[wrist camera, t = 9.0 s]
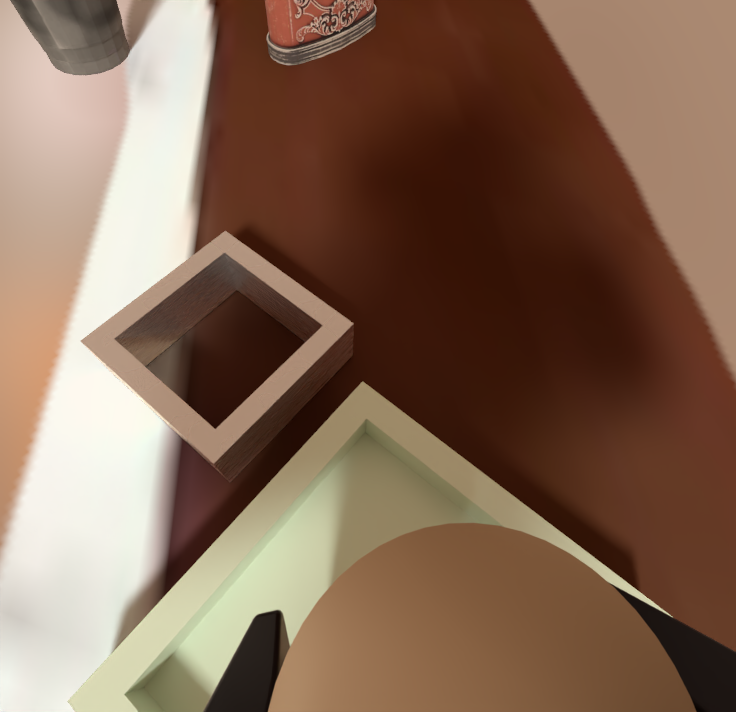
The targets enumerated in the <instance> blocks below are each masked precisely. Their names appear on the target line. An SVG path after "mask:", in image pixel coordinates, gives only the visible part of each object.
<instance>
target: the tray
mask: <svg viewBox="0 0 736 712" xmlns="http://www.w3.org/2000/svg"><path fill="white" fill-rule="evenodd" d="M449 523H480V524H489V525H498V526H502V527H506V528H510V529H514V530H518V531H522V532H525V533H527V534H530V535H532V536H535V537H538V538H540V539H543V540H545V541H547V542H549V543H551V544H553V545H555V546H557V547H559V548H561V549H563V550H564V551H566V552H568V553H570V554H571V555H573V556H574V557H576V558H577V559H579V560H580V561H582V562H583V563H585V564H586V565H587V566H589V567H590V568H592V569H593V570H594V571H596V572H597V573H598V574H599V575H600V576H601V577H603V578H604V579H605V580H606V581H607V582H609V583H611V584H613V585H614V586H616V587H618V588H620V589H622V590H624V591H625V592H627V593H629V594H631V595H633V596H635V597H636V598H638V599H640V600H642V601H644V602H646V603H647V604H649V605H651V606H653V607H655V608H657V609H658V610H660V611H662V612H664V613H666V614H667V615H669V614H668V613H667V612H665V611H664V610H663V609H661V608H660V607H659V606H657V605H656V604H655V603H653V602H652V601H651V600H650V599H648V598H647V597H646V596H644V595H643V594H642V593H640V592H639V591H638V590H636V589H635V588H634V587H632V586H631V585H630V584H628V583H627V582H626V581H625V580H623V579H622V578H621V577H619V576H618V575H617V574H615V573H614V572H613V571H611V570H610V569H609V568H607V567H606V566H605V565H604V564H602V563H601V562H600V561H598V560H597V559H596V558H594V557H593V556H592V555H590V554H589V553H588V552H586V551H585V550H584V549H582V548H581V547H580V546H579V545H577V544H576V543H575V542H573V541H572V540H571V539H569V538H568V537H567V536H565V535H564V534H563V533H561V532H560V531H559V530H558V529H556V528H555V527H554V526H552V525H551V524H550V523H548V522H547V521H546V520H544V519H543V518H542V517H540V516H539V515H538V514H536V513H535V512H534V511H533V510H531V509H530V508H529V507H527V506H526V505H525V504H523V503H522V502H521V501H519V500H518V499H517V498H515V497H514V496H513V495H512V494H510V493H509V492H508V491H506V490H505V489H504V488H502V487H501V486H500V485H498V484H497V483H496V482H494V481H493V480H492V479H490V478H489V477H488V476H487V475H485V474H484V473H483V472H481V471H480V470H479V469H477V468H476V467H475V466H473V465H472V464H471V463H469V462H468V461H467V460H466V459H464V458H463V457H462V456H460V455H459V454H458V453H456V452H455V451H454V450H452V449H451V448H450V447H448V446H447V445H446V444H444V443H443V442H442V441H441V440H439V439H438V438H437V437H435V436H434V435H433V434H431V433H430V432H429V431H427V430H426V429H425V428H423V427H422V426H421V425H420V424H418V423H417V422H416V421H414V420H413V419H412V418H410V417H409V416H408V415H406V414H405V413H404V412H402V411H401V410H400V409H398V408H397V407H396V406H395V405H393V404H392V403H391V402H389V401H388V400H387V399H385V398H384V397H383V396H381V395H380V394H379V393H377V392H376V391H375V390H374V389H372V388H371V387H370V386H368V385H367V384H366V383H364V382H363V381H362V382H361V384H360V385H359V386H358V387H357V388H356V389H355V390H354V391H353V392H352V393H351V394H350V395H349V397H348V398H347V399H346V400H345V401H344V402H343V403H342V404H341V405H340V406H339V407H338V408H337V410H336V411H335V412H334V413H333V414H332V415H331V416H330V417H329V418H328V419H327V420H326V421H325V423H324V424H323V425H322V426H321V427H320V428H319V429H318V430H317V431H316V432H315V433H314V435H313V436H312V437H311V438H310V439H309V440H308V441H307V442H306V443H305V444H304V445H303V446H302V448H301V449H300V450H299V451H298V452H297V453H296V454H295V455H294V456H293V457H292V458H291V459H290V461H289V462H288V463H287V464H286V465H285V466H284V467H283V468H282V469H281V470H280V471H279V472H278V474H277V475H276V476H275V477H274V478H273V479H272V480H271V481H270V482H269V483H268V484H267V485H266V487H265V488H264V489H263V490H262V491H261V492H260V493H259V494H258V495H257V496H256V497H255V499H254V500H253V501H252V502H251V503H250V504H249V505H248V506H247V507H246V508H245V509H244V510H243V512H242V513H241V514H240V515H239V516H238V517H237V518H236V519H235V520H234V521H233V522H232V523H231V525H230V526H229V527H228V528H227V529H226V530H225V531H224V532H223V533H222V534H221V535H220V536H219V538H218V539H217V540H216V541H215V542H214V543H213V544H212V545H211V546H210V547H209V548H208V549H207V551H206V552H205V553H204V554H203V555H202V556H201V557H200V558H199V559H198V560H197V561H196V563H195V564H194V565H193V566H192V567H191V568H190V569H189V570H188V571H187V572H186V573H185V574H184V576H183V577H182V578H181V579H180V580H179V581H178V582H177V583H176V584H175V585H174V586H173V587H172V589H171V590H170V591H169V592H168V593H167V594H166V595H165V596H164V597H163V598H162V599H161V600H160V602H159V603H158V604H157V605H156V606H155V607H154V608H153V609H152V610H151V611H150V612H149V613H148V615H147V616H146V617H145V618H144V619H143V620H142V621H141V622H140V623H139V624H138V625H137V627H136V628H135V629H134V630H133V631H132V632H131V633H130V634H129V635H128V636H127V637H126V638H125V640H124V641H123V642H122V643H121V644H120V645H119V646H118V647H117V648H116V649H115V650H114V651H113V653H112V654H111V655H110V656H109V657H108V658H107V659H106V660H105V661H104V662H103V663H102V664H101V666H100V667H99V668H98V669H97V670H96V671H95V672H94V673H93V674H92V675H91V676H90V677H89V679H88V680H87V681H86V682H85V683H84V684H83V685H82V686H81V687H80V688H79V689H78V691H77V692H76V693H75V694H74V695H73V696H72V697H71V698H70V699H69V700H68V701H67V702H68V703H69V704H70V705H71V707H72V708H73V709H74V710H75V712H203V710H204V709H205V707H206V705H207V703H208V701H209V699H210V697H211V696H212V694H213V692H214V690H215V688H216V686H217V685H218V683H219V681H220V679H221V677H222V675H223V673H224V672H225V670H226V668H227V666H228V664H229V662H230V661H231V659H232V657H233V655H234V653H235V651H236V649H237V648H238V646H239V644H240V642H241V640H242V638H243V637H244V635H245V633H246V631H247V629H248V627H249V625H250V624H251V622H252V620H253V618H254V617H255V616H256V615H257V614H260V613H265V612H269V611H273V610H281V611H282V613H283V616H284V620H285V625H286V630H287V634H288V639H289V644H290V646H291V644H292V642H293V641H294V639H295V637H296V635H297V633H298V631H299V629H300V627H301V625H302V623H303V622H304V621H305V619H306V618H307V616H308V615H309V613H310V612H311V610H312V609H313V607H314V606H315V604H316V603H317V602H318V600H319V599H320V598H321V596H322V595H323V594H324V593H325V592H326V591H327V590H328V588H329V587H330V586H331V585H332V584H333V583H334V582H335V581H336V579H337V578H338V577H339V576H340V575H342V574H343V573H344V572H345V571H346V570H347V569H348V568H350V567H351V566H352V565H353V564H354V563H355V562H356V561H358V560H359V559H360V558H362V557H363V556H365V555H366V554H368V553H369V552H371V551H372V550H374V549H375V548H377V547H378V546H380V545H382V544H384V543H386V542H388V541H390V540H392V539H395V538H397V537H399V536H401V535H403V534H406V533H410V532H413V531H416V530H419V529H422V528H425V527H431V526H437V525H443V524H449ZM669 616H671V615H669ZM671 617H672V616H671Z"/></svg>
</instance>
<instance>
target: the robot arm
mask: <svg viewBox="0 0 736 712" xmlns="http://www.w3.org/2000/svg"><path fill="white" fill-rule="evenodd" d="M608 583H609V582H608ZM610 584H611V583H610ZM611 585H612V586H613V587H614V588H615V589H616V590H617V591H618V592H619V593H620V594H621V595H622V596H623V597H624V598H625V599H626V600H627V601H628V602H629V604H630V605H631V606H632V607H633V608H634V609H635V610H636V611H637V612H638V614H639V615H640V616H641V617H642V619H643V620H644V621H645V623H646V624H647V625H648V626H649V628H650V629H651V630H652V632H653V633H654V634H655V635H656V637H657V638H658V640H659V642H660V643H661V645H662V646H663V648H664V650H665V651H666V653H667V654H668V656H669V657H670V659H671V661H672V662H673V664H674V665H675V667H676V669H677V671H678V673H679V675H680V677H681V679H682V681H683V683H684V685H685V687H686V689H687V691H688V693H689V695H690V697H691V699H692V702H693V704H694V707H695V709H696V712H736V652H735V651H733V650H731V649H730V648H728V647H726V646H724V645H722V644H720V643H719V642H717V641H715V640H713V639H711V638H709V637H708V636H706V635H704V634H702V633H700V632H699V631H697V630H695V629H693V628H691V627H689V626H688V625H686V624H684V623H682V622H680V621H678V620H677V619H675V618H673V617H671V616H669V615H667V614H666V613H664V612H662V611H660V610H658V609H657V608H655V607H653V606H651V605H649V604H647V603H646V602H644V601H642V600H640V599H638V598H636V597H635V596H633V595H631V594H629V593H627V592H625V591H624V590H622V589H620V588H618V587H616V586H614V585H613V584H611ZM289 648H290V644H289V639H288V634H287V630H286V625H285V620H284V616H283V613H282V611H281V610H273V611H269V612H265V613H260V614H257V615H256V616H255V617H254V618H253V620H252V622H251V624H250V625H249V627H248V629H247V631H246V633H245V635H244V637H243V638H242V640H241V642H240V644H239V646H238V648H237V649H236V651H235V653H234V655H233V657H232V659H231V661H230V662H229V664H228V666H227V668H226V670H225V672H224V673H223V675H222V677H221V679H220V681H219V683H218V685H217V686H216V688H215V690H214V692H213V694H212V696H211V697H210V699H209V701H208V703H207V705H206V707H205V709H204V710H203V712H268V709H269V705H270V701H271V698H272V694H273V690H274V687H275V683H276V680H277V678H278V675H279V673H280V670H281V668H282V665H283V662H284V660H285V657H286V655H287V652H288V650H289Z"/></svg>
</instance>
